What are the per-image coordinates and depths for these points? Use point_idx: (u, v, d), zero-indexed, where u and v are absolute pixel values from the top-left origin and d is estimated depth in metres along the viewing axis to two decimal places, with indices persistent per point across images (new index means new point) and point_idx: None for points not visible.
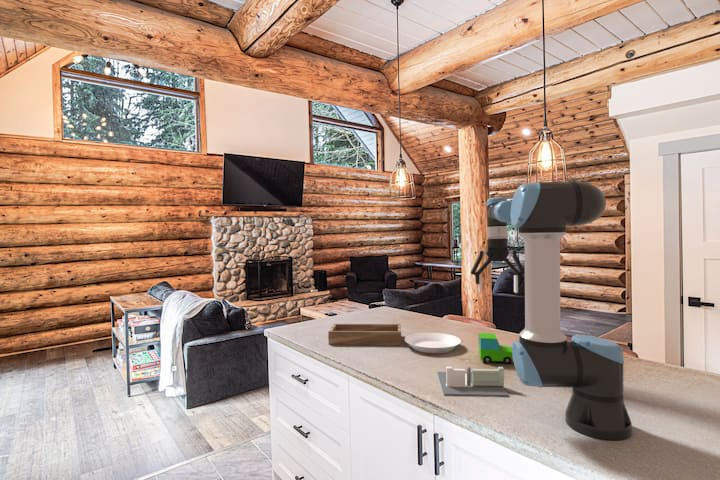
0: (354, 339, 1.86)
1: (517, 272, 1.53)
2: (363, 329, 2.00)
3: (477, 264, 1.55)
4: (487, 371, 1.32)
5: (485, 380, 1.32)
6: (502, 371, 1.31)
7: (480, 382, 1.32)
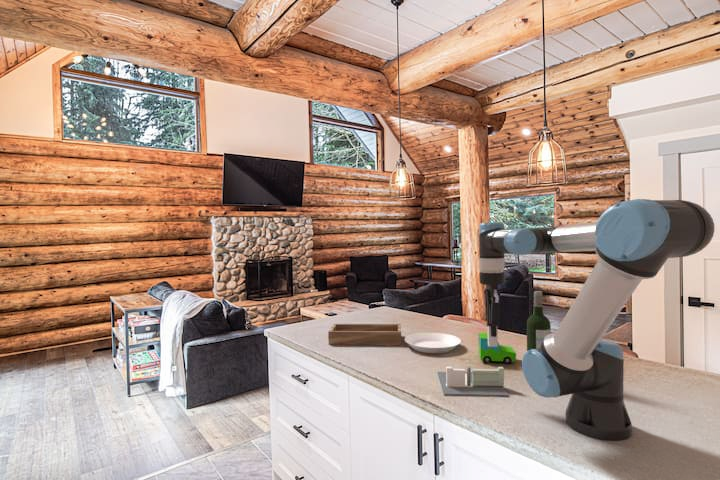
0: (354, 339, 1.86)
1: (489, 321, 1.25)
2: (363, 329, 2.00)
3: (485, 307, 1.30)
4: (487, 371, 1.32)
5: (485, 380, 1.32)
6: (502, 371, 1.31)
7: (480, 382, 1.32)
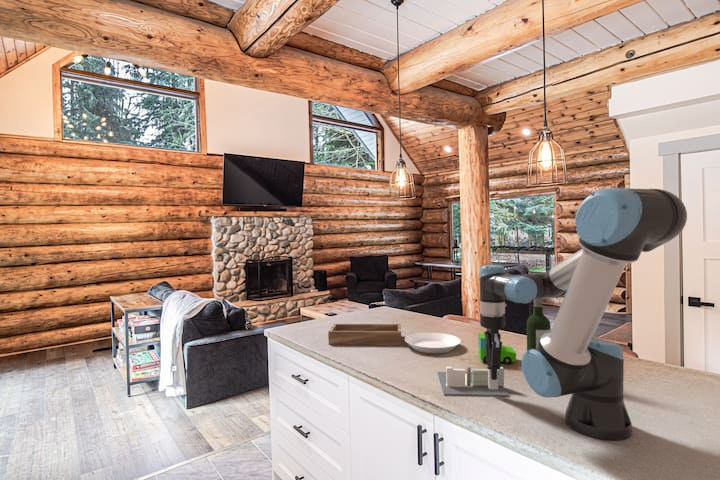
0: (354, 339, 1.86)
1: (490, 364, 1.25)
2: (363, 329, 2.00)
3: (486, 349, 1.30)
4: (487, 371, 1.32)
5: (485, 380, 1.32)
6: (502, 371, 1.31)
7: (480, 382, 1.32)
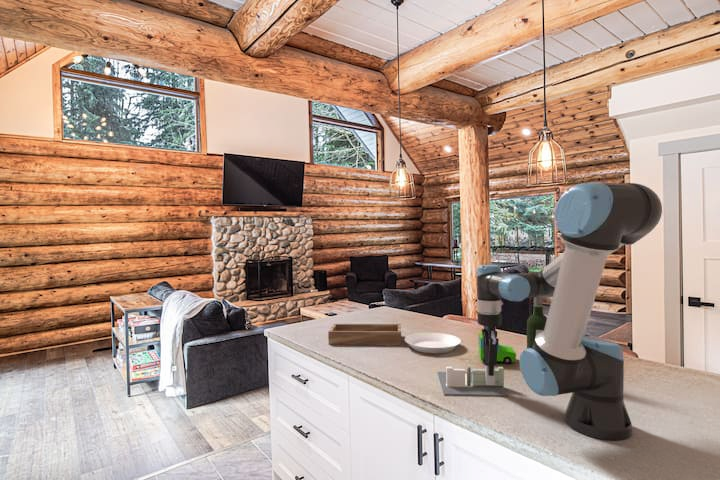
0: (354, 339, 1.86)
1: (487, 360, 1.29)
2: (363, 329, 2.00)
3: (483, 346, 1.34)
4: None
5: (485, 380, 1.32)
6: (502, 371, 1.32)
7: (480, 382, 1.32)
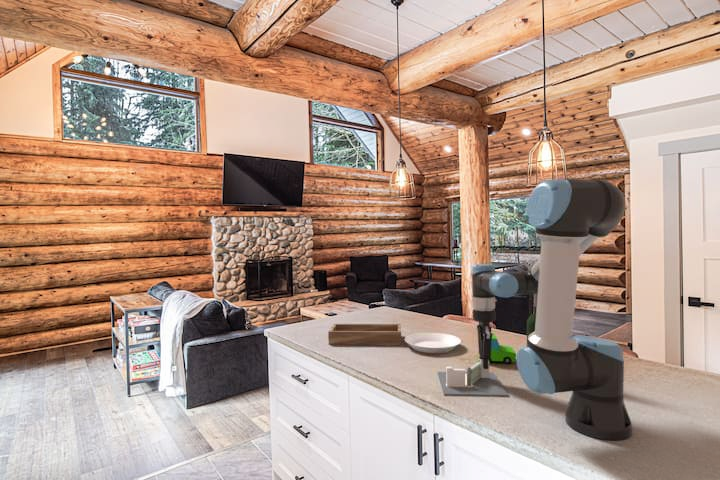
0: (354, 339, 1.86)
1: (481, 354, 1.37)
2: (363, 329, 2.00)
3: (478, 341, 1.42)
4: (477, 366, 1.38)
5: (477, 375, 1.37)
6: None
7: (475, 378, 1.36)
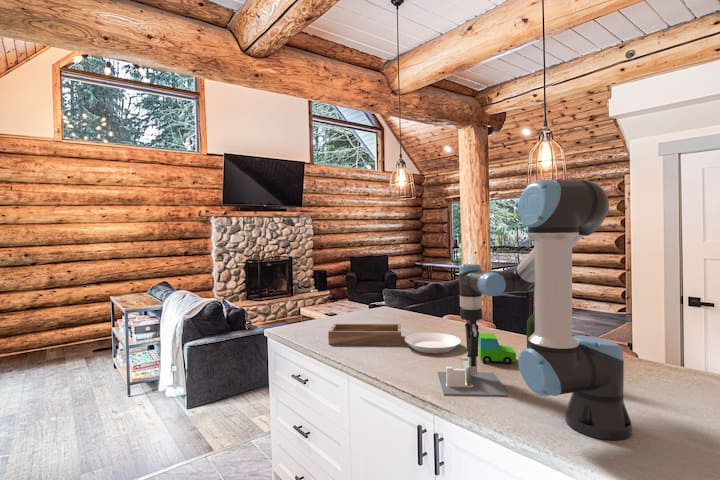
0: (354, 339, 1.86)
1: (469, 352, 1.40)
2: (363, 329, 2.00)
3: (466, 339, 1.45)
4: (468, 364, 1.39)
5: None
6: (467, 359, 1.44)
7: None
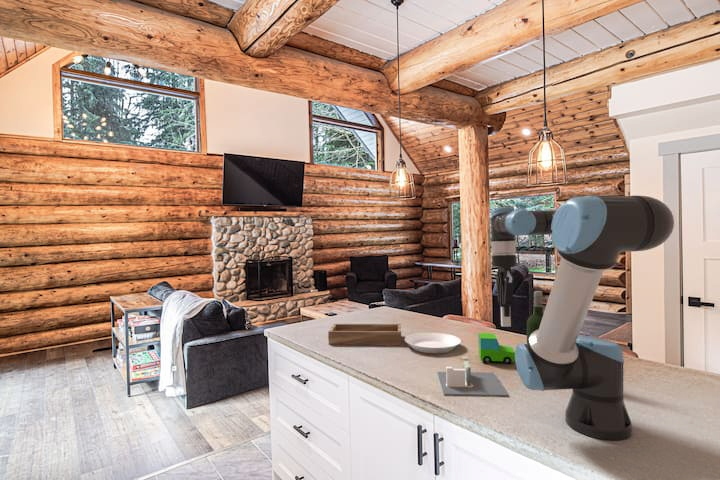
0: (354, 339, 1.86)
1: (502, 301, 1.30)
2: (363, 329, 2.00)
3: (497, 290, 1.36)
4: (468, 364, 1.39)
5: None
6: (467, 359, 1.44)
7: None
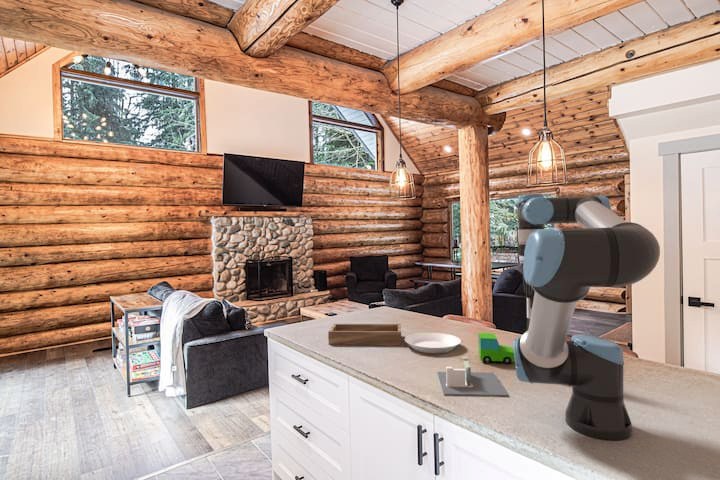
0: (354, 339, 1.86)
1: (529, 292, 1.25)
2: (363, 329, 2.00)
3: (523, 280, 1.30)
4: (468, 364, 1.39)
5: None
6: (467, 359, 1.44)
7: None
